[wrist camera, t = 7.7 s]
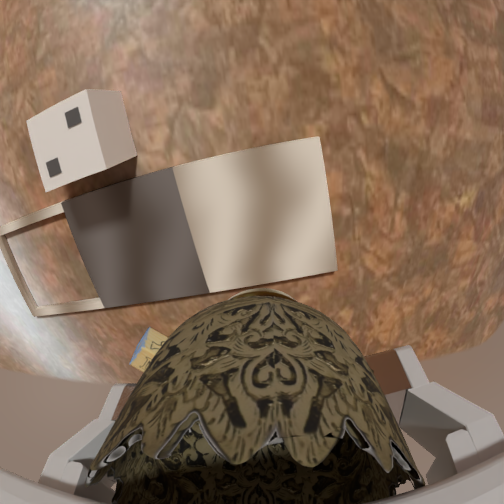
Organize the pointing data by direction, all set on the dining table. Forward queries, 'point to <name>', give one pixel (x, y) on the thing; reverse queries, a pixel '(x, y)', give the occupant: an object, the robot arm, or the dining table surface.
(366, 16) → the dining table surface
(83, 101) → the die
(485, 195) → the dining table surface
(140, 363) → the alphabet block
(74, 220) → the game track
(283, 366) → the cup
